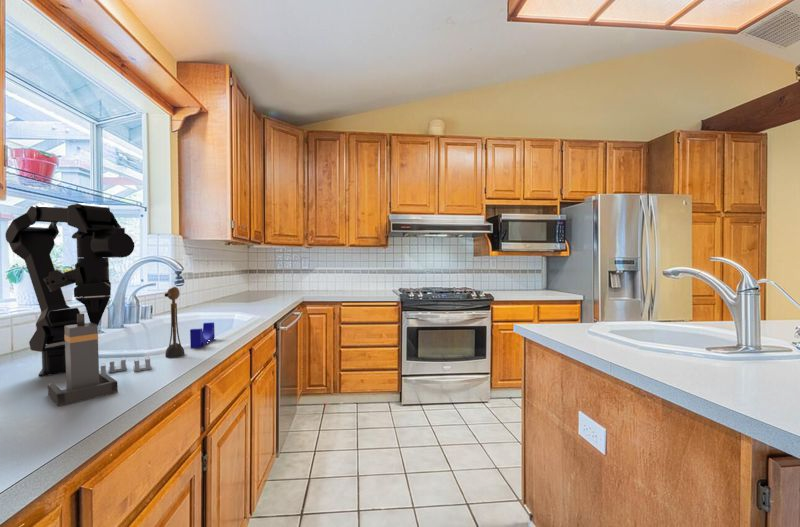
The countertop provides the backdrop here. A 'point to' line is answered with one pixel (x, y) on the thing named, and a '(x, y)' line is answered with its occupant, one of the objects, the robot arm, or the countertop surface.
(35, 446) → the countertop surface
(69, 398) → the dark grey square tray
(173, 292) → the wooden tabletop sculpture
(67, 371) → the connector
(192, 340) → the cable clip
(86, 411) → the countertop surface
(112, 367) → the clips
